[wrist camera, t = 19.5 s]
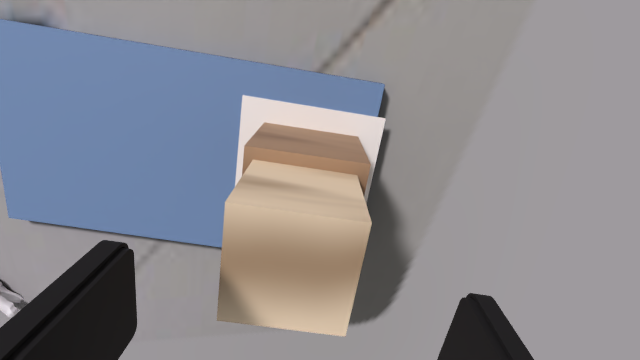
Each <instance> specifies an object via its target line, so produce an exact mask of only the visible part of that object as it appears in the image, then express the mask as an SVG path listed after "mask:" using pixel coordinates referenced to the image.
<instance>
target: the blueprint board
mask: <svg viewBox="0 0 640 360" xmlns="http://www.w3.org/2000/svg"><path fill="white" fill-rule="evenodd" d="M384 86H385V85H384V84H382V83H377V82H371V81H365V80H359V79H353V78H347V77H341V76H335V75H329V74H323V73H317V72H311V71H305V70H300V69H294V68H288V67H282V66H276V65H270V64H264V63H258V62H252V61H246V60H240V59H234V58H228V57H223V56H217V55H211V54H205V53H199V52H193V51H187V50H181V49H175V48H169V47H163V46H157V45H151V44H146V43H140V42H134V41H128V40H122V39H116V38H110V37H104V36H98V35H92V34H86V33H80V32H74V31H69V30H63V29H57V28H51V27H45V26H39V25H33V24H27V23H21V22H15V21H9V20H3V19H0V167H1V173H2V179H3V185H4V191H5V197H6V203H7V210H8V216H9V218H14V219H21V220H29V221H36V222H43V223H50V224H57V225H64V226H71V227H79V228H86V229H93V230H100V231H107V232H114V233H121V234H129V235H136V236H143V237H150V238H157V239H164V240H171V241H179V242H186V243H193V244H200V245H207V246H214V247H222V239H223V224H224V210H225V201H226V200H227V198H228V197H229V195H230V194H231V192H232V191H233V189H234V188H235V186H236V185H237V183H238V182H239V180H240V179H241V177H242V168H243V156H244V145H245V144H246V143H247V142H248V141H249V140H250V138H251V137H252V136H253V135H254V134H255V133H256V131H257V130H258V129H259V128H260V127H261V126H262V125H263V123H264V122H266V123H272V124H279V125H285V126H292V127H299V128H305V129H312V130H318V131H325V132H332V133H338V134H345V135H351V136H358V138H359V140H360V142H361V144H362V146H363V148H364V150H365V153H366V155H367V157H368V159H369V161H370V163H371V167H370V171H369V176H368V181H367V185H366V190H365V195H364V199H365V202H366V204H367V199H368V195H369V191H370V186H371V182H372V177H373V173H374V168H375V164H376V160H377V155H378V151H379V146H380V142H381V137H382V133H383V129H384V124H385V120H386V118H380V117H378V113H379V109H380V104H381V100H382V95H383V91H384Z"/></svg>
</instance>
